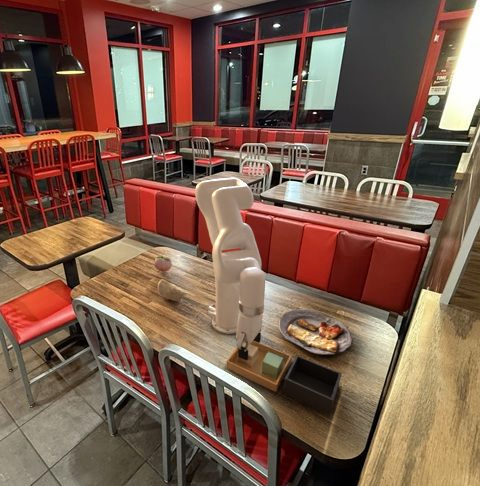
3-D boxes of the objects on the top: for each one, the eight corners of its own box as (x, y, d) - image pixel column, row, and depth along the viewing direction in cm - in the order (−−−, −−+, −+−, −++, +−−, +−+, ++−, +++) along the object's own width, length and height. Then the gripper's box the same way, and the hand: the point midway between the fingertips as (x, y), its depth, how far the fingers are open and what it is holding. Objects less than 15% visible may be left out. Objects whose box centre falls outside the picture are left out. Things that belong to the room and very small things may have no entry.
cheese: (157, 293, 149) (149, 290, 135) (164, 279, 150) (157, 275, 136) (185, 308, 145) (179, 307, 131) (192, 294, 146) (187, 291, 132)
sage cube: (261, 372, 101) (262, 361, 99) (267, 362, 105) (268, 351, 103) (276, 379, 98) (277, 368, 96) (281, 369, 102) (283, 357, 100)
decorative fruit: (174, 268, 166) (173, 252, 162) (169, 276, 159) (168, 259, 155) (158, 266, 169) (157, 250, 165) (152, 274, 162) (151, 257, 158)
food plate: (360, 333, 116) (362, 326, 114) (335, 370, 101) (337, 362, 100) (297, 306, 132) (297, 299, 131) (267, 334, 118) (268, 327, 116)
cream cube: (237, 361, 106) (238, 350, 104) (244, 352, 109) (244, 341, 107) (251, 368, 103) (252, 356, 101) (257, 358, 107) (258, 347, 105)
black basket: (282, 393, 94) (284, 378, 91) (294, 369, 102) (296, 354, 100) (329, 416, 87) (333, 400, 84) (338, 388, 95) (341, 373, 92)
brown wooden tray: (226, 368, 104) (226, 361, 102) (244, 343, 114) (244, 336, 112) (275, 392, 95) (276, 385, 93) (290, 363, 105) (291, 355, 103)
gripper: (251, 290, 105) (249, 330, 111) (227, 316, 92) (227, 361, 99) (273, 296, 101) (270, 338, 107) (250, 325, 88) (248, 370, 95)
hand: (249, 349), depth 103 cm, fingers open, 9 cm apart
